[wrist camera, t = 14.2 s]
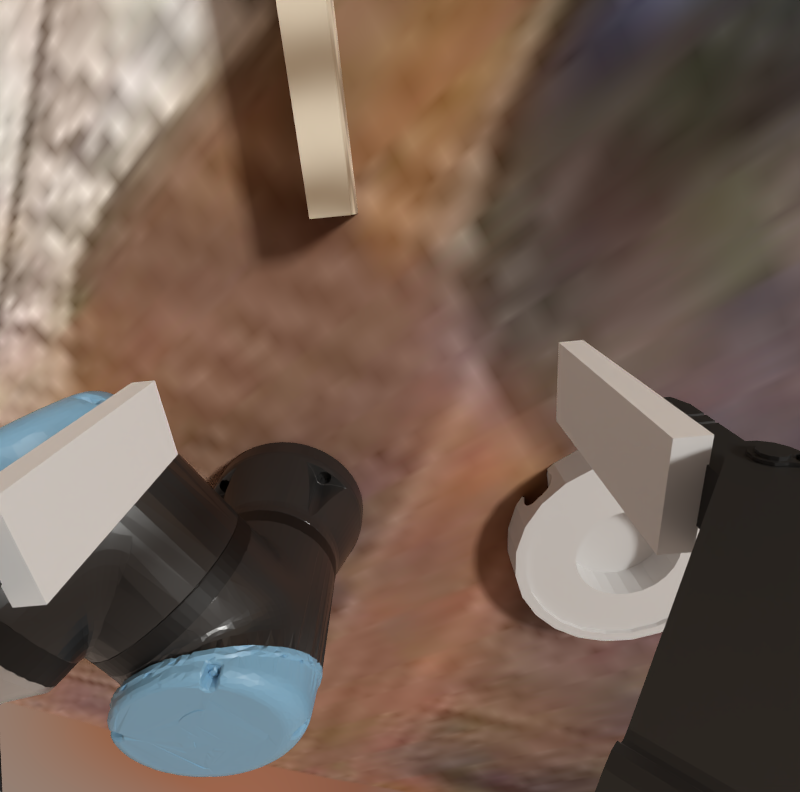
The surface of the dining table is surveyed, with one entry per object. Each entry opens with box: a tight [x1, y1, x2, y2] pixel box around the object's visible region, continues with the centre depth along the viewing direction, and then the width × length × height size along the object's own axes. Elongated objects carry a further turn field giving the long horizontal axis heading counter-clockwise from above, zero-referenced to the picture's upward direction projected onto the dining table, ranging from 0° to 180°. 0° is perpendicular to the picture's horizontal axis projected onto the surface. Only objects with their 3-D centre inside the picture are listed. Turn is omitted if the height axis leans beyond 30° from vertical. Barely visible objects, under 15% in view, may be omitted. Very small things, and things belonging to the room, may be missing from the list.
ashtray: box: [508, 450, 700, 641], centre depth 49 cm, size 23×23×4 cm
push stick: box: [276, 0, 358, 219], centre depth 32 cm, size 18×3×6 cm, turn 5°
